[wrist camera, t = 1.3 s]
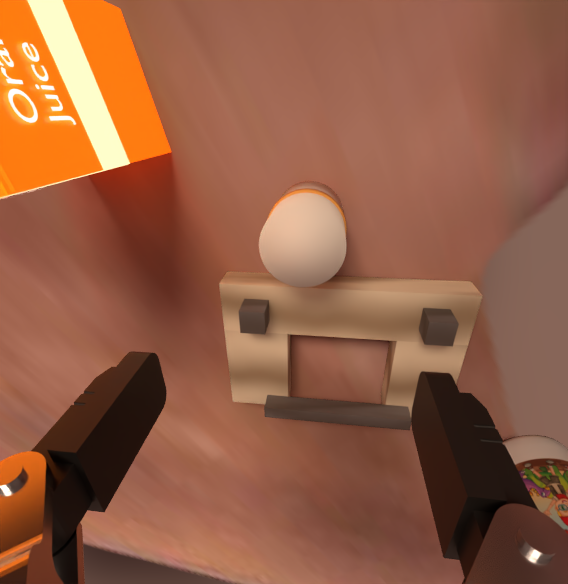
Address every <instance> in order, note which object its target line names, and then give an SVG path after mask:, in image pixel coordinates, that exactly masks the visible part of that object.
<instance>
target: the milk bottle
mask: <svg viewBox="0 0 568 584" xmlns="http://www.w3.org/2000/svg"><path fill="white" fill-rule="evenodd" d="M503 444H505V446H506V448H507V450H508V452H509V454H510V456H511V458H512V460H513V462H514V464H515V466H516V468H517V470H518V472H519V474H520V475H521V477H522V479H523V481H524V483H525V485H526V487H527V489H528V491H529V493H530V495H531V497H532V499H533V501H534V503H535V505H536V506H537V508H538V510H539V511H540V512H542V513H544V514H546V515H547V516H549V517H550V518H551V519H553V520H554V521H555V522H556V523H558V524H559V525H560V526H561V527H562V528H563V529H564V530H565V531H566V533H567V534H568V449H567V448H566V447H565V446H564V445H562V444H561V443H560V442H558V441H556V440H554V439H552V438H549V437H546V436H539V435H525V436H518V437H514V438H511V439H508V440H506V441H504V442H503Z"/></svg>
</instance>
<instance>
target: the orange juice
mask: <svg viewBox="0 0 568 584" xmlns="http://www.w3.org/2000/svg"><path fill="white" fill-rule="evenodd" d="M170 152H171V150H170V147H169V144H168V141H167V138H166V136H165V133H164V130H163V127H162V124H161V122H160V119H159V116H158V113H157V110H156V108H155V105H154V102H153V99H152V96H151V94H150V91H149V88H148V85H147V82H146V80H145V77H144V74H143V71H142V68H141V66H140V63H139V60H138V57H137V54H136V52H135V49H134V46H133V43H132V40H131V38H130V35H129V32H128V29H127V26H126V24H125V21H124V18H123V15H122V12H121V10H120V8H118V7H116V6H113V5H111V4H109V3H107V2H105V1H103V0H0V198H3V197H7V196H11V195H15V194H18V193H22V192H26V191H30V190H34V189H37V188H41V187H45V186H49V185H53V184H56V183H60V182H64V181H68V180H72V179H75V178H79V177H83V176H87V175H91V174H94V173H98V172H102V171H106V170H109V169H113V168H117V167H121V166H124V165H128V164H130V163H132V162H136V161H140V160H144V159H147V158H151V157H155V156H159V155H162V154H166V153H170ZM27 193H28V192H27ZM12 197H13V196H12ZM3 199H5V198H3Z"/></svg>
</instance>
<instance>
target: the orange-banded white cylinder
mask: <svg viewBox="0 0 568 584" xmlns="http://www.w3.org/2000/svg"><path fill="white" fill-rule="evenodd" d="M259 251H260V256H261V259H262V261H263V263H264V265H265V267H266V268H267V270H268V271H269V272H270V273H271V274H272V275H273V276H274V277H275V278H276V279H278V280H280V281H281V282H283V283H285V284H288V285H291V286H295V287H312V286H316V285H319V284H322V283H324V282H326V281H328V280H329V279H330V278H332V277H333V276H334V275H335V274H336V273H337V272H338V271H339V269H340V268H341V266H342V264H343V262H344V259H345V256H346V220H345V216H344V213H343V207H342V203H341V201H340V199H339V197H338V196H337V194H336V193H335V192H334V191H333V190H332V189H331V188H329V187H328V186H326V185H324V184H322V183H319V182H314V181H305V182H301V183H298V184H295V185H293V186H292V187H290V188H289V189H288V190H286V191H285V193H284V194H283V195H282V196H281V198H280V199H279V200H278V202H277V203H276V204H275V205H274V207H273V209H272V210H271V212H270V214H269V216H268V220H267V222H266V223H265V225H264V227H263V229H262V231H261V234H260V239H259Z"/></svg>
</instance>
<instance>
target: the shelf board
mask: <svg viewBox="0 0 568 584" xmlns="http://www.w3.org/2000/svg"><path fill="white" fill-rule="evenodd" d="M219 288H220V296H221V305H222V313H223V322H224V330H225V339H226V347H227V356H228V364H229V373H230V382H231V390H232V399H233V402H244V403H256V404H265V407H264V410H265V417H272V418H283V419H293V420H304V421H315V422H326V423H337V424H347V425H358V426H369V427H380V428H390V429H401V430H410V426H411V413H412V406H413V402H414V397H415V392H416V388H417V383H418V379H419V375H420V373H421V372H422V371H426V372H441V373H450V374H451V375H452V377H453V379H454V381H455V384H456V383H457V380H458V377H459V373H460V370H461V367H462V363H463V360H464V357H465V353H466V350H467V347H468V343H469V340H470V337H471V333H472V330H473V327H474V323H475V320H476V317H477V314H478V310H479V307H480V304H481V300H482V297H483V296H482V295H481V293H480V292H479V291H478V290H477V288H476V287H475V286H474V285H473V283H472V282H469V281H445V280H421V279H397V278H374V277H350V276H333V277H332V278H330V279H329V280H328V281H326V282H324V283H322V284H319V285H316V286H312V287H295V286H291V285H288V284H285V283H283V282H281V281H280V280H278V279H276V278H275V277H274V276H273V275H272V274H271V273H254V272H230V271H227V272H226V274H225V276H224V277H223V279H222V280H221V282H220V283H219ZM291 334H294V335H310V336H326V337H342V338H358V339H373V340H389V341H390V342H389V348H388V354H387V360H386V366H385V373H384V379H383V385H382V391H381V401H382V404H371V403H359V402H347V401H335V400H324V399H312V398H300V397H290V391H291Z"/></svg>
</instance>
